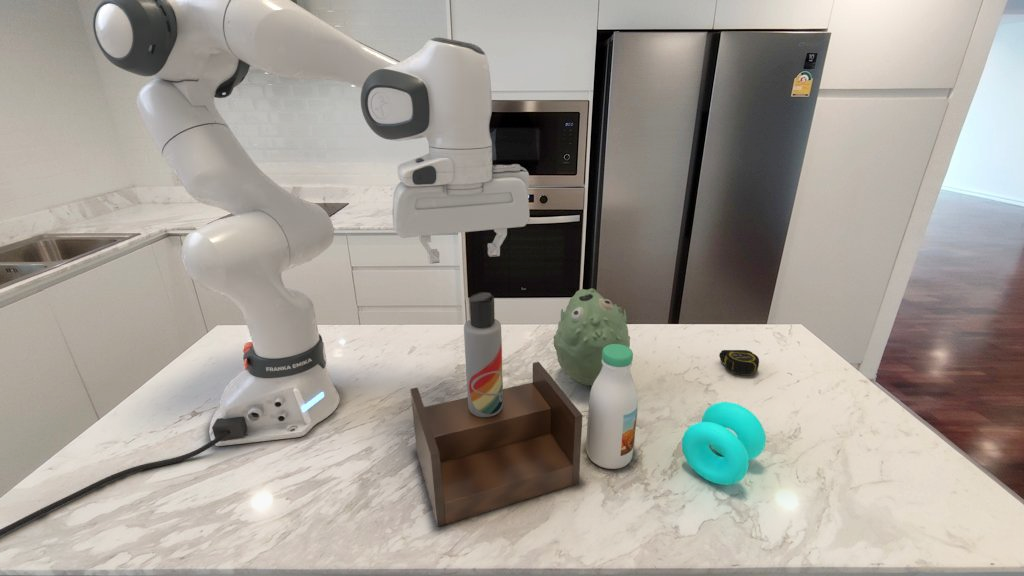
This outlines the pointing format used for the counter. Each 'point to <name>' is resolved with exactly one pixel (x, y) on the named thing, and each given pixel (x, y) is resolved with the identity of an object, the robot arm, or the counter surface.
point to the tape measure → (740, 361)
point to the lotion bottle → (483, 357)
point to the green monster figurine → (588, 334)
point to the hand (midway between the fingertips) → (464, 258)
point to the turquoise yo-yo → (724, 443)
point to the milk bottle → (612, 410)
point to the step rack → (497, 449)
